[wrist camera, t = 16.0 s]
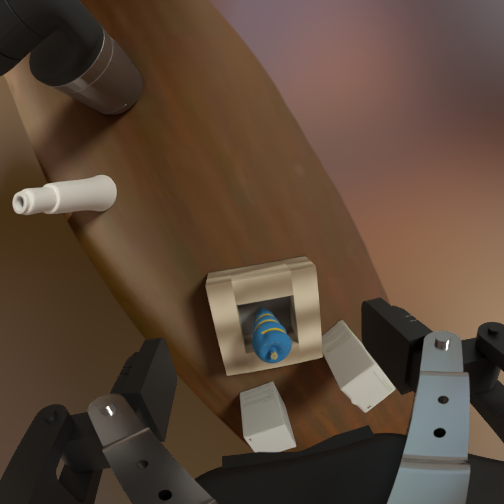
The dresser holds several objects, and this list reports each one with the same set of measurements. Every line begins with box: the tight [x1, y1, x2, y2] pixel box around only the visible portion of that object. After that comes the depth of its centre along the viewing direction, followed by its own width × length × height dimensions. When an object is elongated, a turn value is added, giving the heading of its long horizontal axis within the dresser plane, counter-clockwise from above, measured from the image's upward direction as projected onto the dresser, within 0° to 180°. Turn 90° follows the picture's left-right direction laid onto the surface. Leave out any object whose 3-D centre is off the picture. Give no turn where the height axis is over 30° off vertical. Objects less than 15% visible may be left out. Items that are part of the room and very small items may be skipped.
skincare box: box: [321, 320, 395, 413], centre depth 45 cm, size 8×7×16 cm
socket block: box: [205, 256, 323, 376], centre depth 47 cm, size 16×16×6 cm
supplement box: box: [240, 381, 296, 452], centre depth 48 cm, size 7×7×13 cm
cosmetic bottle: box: [13, 175, 117, 215], centre depth 33 cm, size 6×6×22 cm
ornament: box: [252, 308, 292, 363], centre depth 42 cm, size 5×5×15 cm
